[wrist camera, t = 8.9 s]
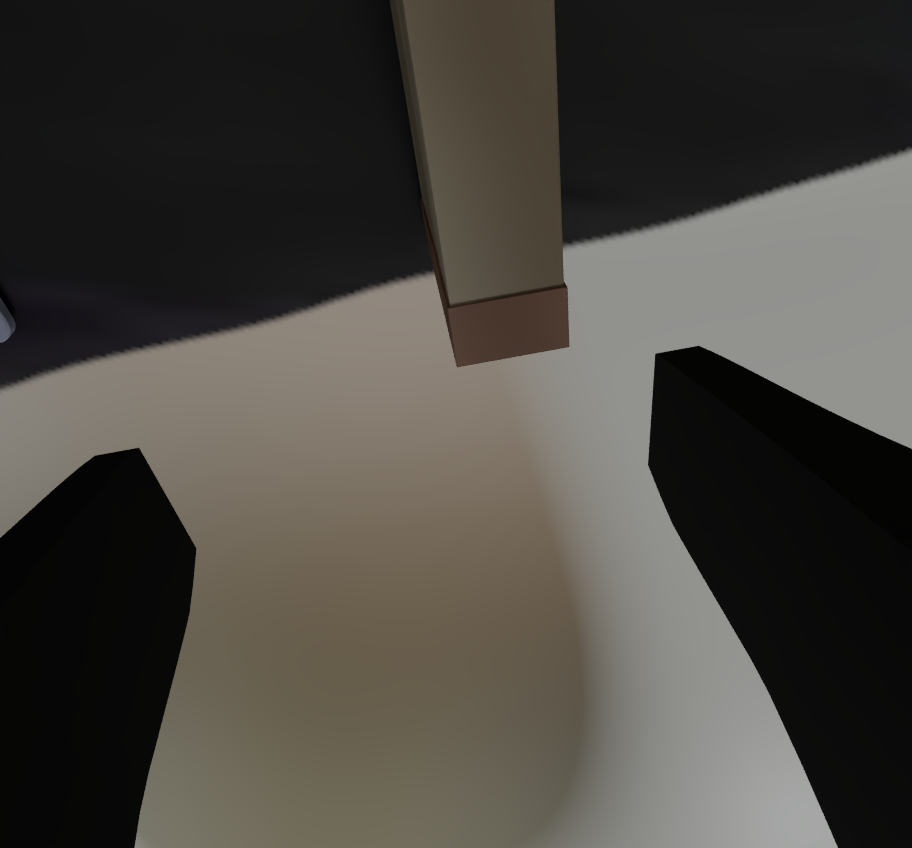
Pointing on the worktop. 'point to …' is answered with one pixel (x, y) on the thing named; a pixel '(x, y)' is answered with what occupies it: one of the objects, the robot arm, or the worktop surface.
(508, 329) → the brown-tipped cream rod
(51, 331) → the worktop surface
